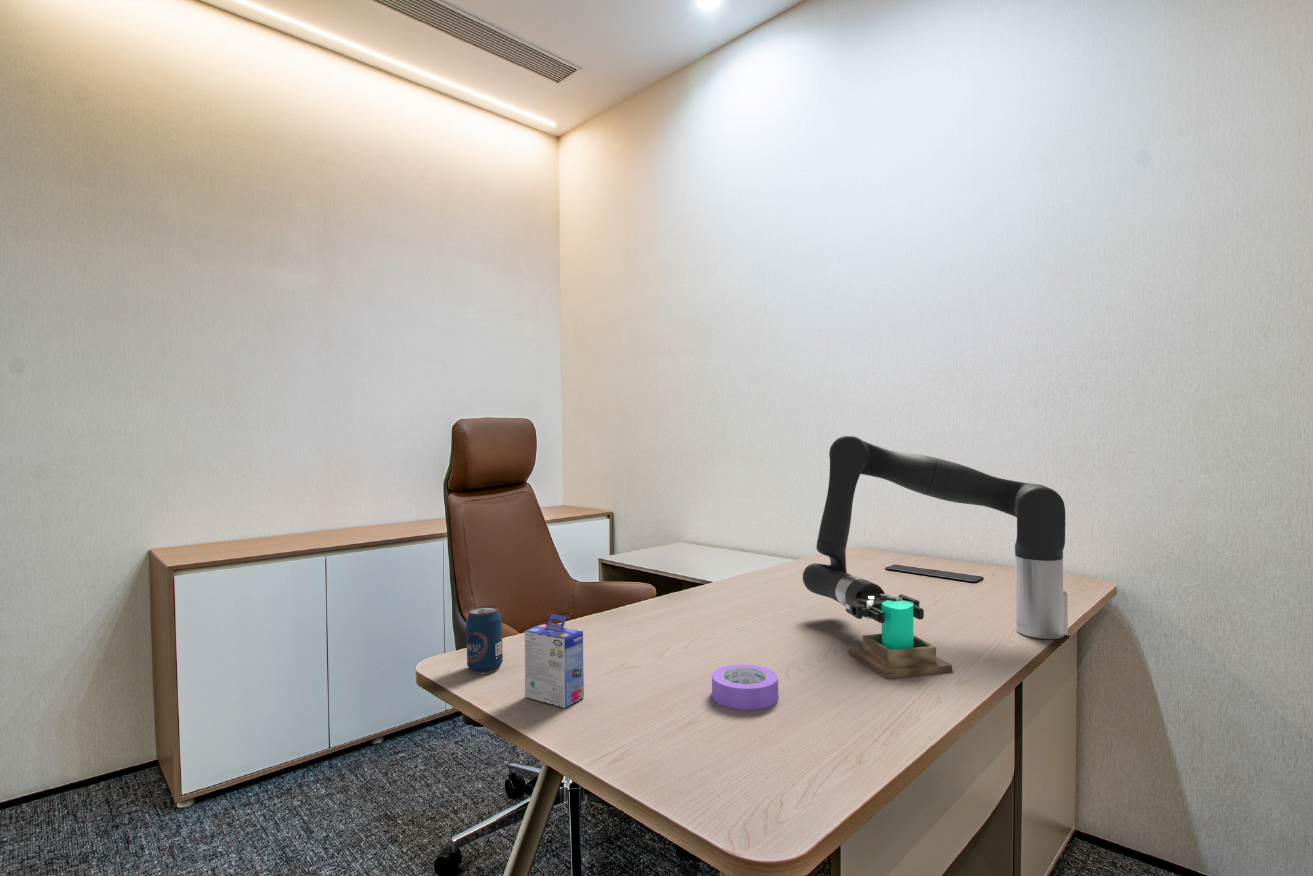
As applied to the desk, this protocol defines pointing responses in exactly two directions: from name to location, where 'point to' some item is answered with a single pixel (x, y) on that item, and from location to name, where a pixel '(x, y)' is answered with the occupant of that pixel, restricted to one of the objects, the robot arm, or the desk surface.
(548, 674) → the ink cartridge box
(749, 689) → the masking tape
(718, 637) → the desk surface
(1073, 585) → the desk surface
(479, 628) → the soda can
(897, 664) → the candle holder
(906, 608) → the candle
